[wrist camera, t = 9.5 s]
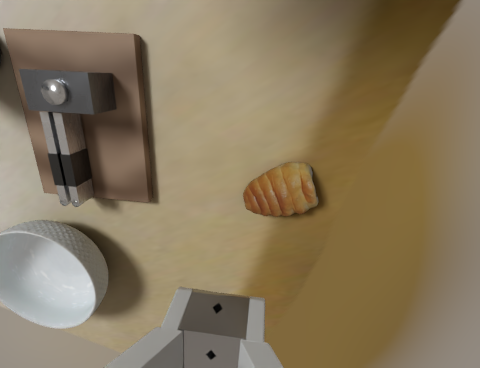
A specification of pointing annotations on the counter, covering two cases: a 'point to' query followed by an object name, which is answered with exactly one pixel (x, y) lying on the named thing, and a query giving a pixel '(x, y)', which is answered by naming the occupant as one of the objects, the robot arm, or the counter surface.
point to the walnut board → (94, 125)
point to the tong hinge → (68, 91)
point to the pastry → (282, 191)
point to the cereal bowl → (51, 273)
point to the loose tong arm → (74, 156)
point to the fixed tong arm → (55, 156)
